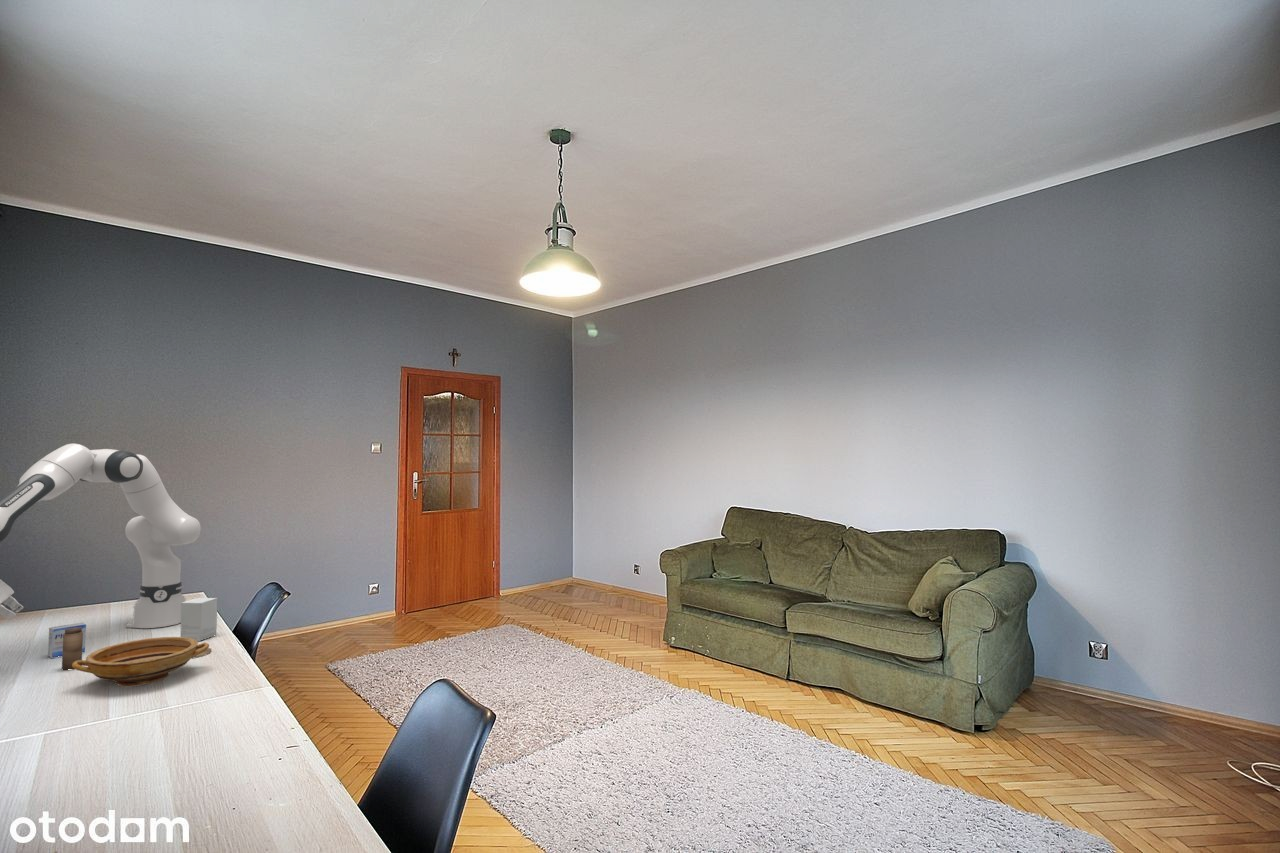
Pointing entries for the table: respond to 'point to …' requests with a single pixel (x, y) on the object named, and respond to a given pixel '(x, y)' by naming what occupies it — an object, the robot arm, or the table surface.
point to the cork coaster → (204, 652)
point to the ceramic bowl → (141, 659)
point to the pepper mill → (72, 647)
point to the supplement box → (199, 618)
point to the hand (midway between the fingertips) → (17, 613)
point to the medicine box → (57, 638)
